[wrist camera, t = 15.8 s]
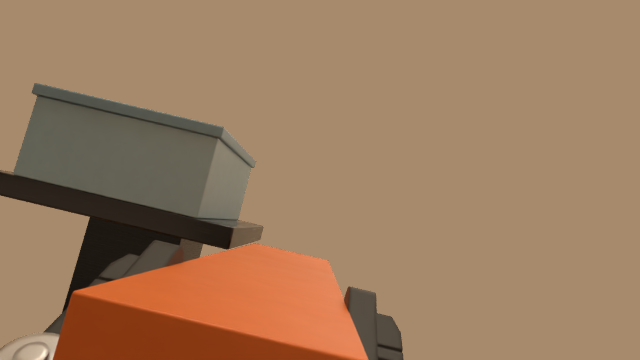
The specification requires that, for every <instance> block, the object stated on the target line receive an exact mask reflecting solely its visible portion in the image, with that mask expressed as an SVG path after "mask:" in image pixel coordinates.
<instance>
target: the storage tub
mask: <svg viewBox="0 0 640 360" xmlns="http://www.w3.org/2000/svg"><path fill="white" fill-rule="evenodd" d="M32 93H33V94H35V95H37V99H36V102H35V105H34V109H33V112H32V115H31V118H30V121H29V125H28V128H27V131H26V134H25V137H24V140H23V144H22V147H21V150H20V153H19V156H18V160H17V163H16V166H15V169H14V172H13V174H14V175H16V176H21V177H25V178H29V179H33V180H37V181H42V182H46V183H50V184H54V185H59V186H63V187H67V188H71V189H75V190H80V191H84V192H88V193H92V194H96V195H101V196H105V197H109V198H113V199H117V200H122V201H126V202H130V203H134V204H139V205H143V206H147V207H151V208H155V209H160V210H164V211H168V212H172V213H176V214H181V215H185V216H189V217H193V218H203V219H224V220H238V218H239V214H240V210H241V206H242V202H243V198H244V194H245V190H246V187H247V183H248V179H249V175H250V171H251V168H254V167H255V163H256V161H255V160H254V159H253V158H252V157H251V156H250V155H249V154H248V153H247V152H246V150H245V149H244V148H243V147H242V146H241V145H240V144H239V143H238V142H237V141H236V140H235V139H234V138H233V137H232V136H231V134H230V133H229V132H228V131H227V130H226V129H225V128H224V127H221V126H217V125H213V124H208V123H204V122H200V121H196V120H191V119H187V118H183V117H179V116H174V115H170V114H166V113H162V112H157V111H153V110H149V109H145V108H140V107H136V106H132V105H128V104H123V103H119V102H114V101H110V100H106V99H102V98H97V97H94V96H89V95H85V94H80V93H77V92H72V91H68V90H64V89H59V88H55V87H51V86H47V85H42V84H38V83H35V84H34V87H33V90H32Z"/></svg>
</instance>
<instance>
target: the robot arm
mask: <svg viewBox="0 0 640 360" xmlns="http://www.w3.org/2000/svg"><path fill="white" fill-rule="evenodd" d="M183 259H184V248H183V246H179V245H175V244H171V243H167V242H163V241H158V240H154V241H153V242H152V243H151V244H150V245H149V246H148V247H147V248H146V249H145V251H144V252H143V253H142V254H141V255H140V256H137V255H133V254H128V255H126V256H124V257H122V258H120V259H118V260H116V261H114V262H112V263H110V264H109V265H108V267H107V268H106V269H105V270H104V271H103V272H102V273H101V274H100V275H99V276H98V278H97V279H95V280H94V281H93V282H92V283H91V284H90V285H89V286H88V287H91V286H95V285H99V284H102V283H106V282H110V281H114V280H117V279H121V278H125V277H129V276H133V275H136V274H140V273H144V272H148V271H152V270H155V269H159V268H163V267H167V266H171V265H175V264H178V263H182V262H183ZM344 302H345V305H346V307H347V310H348V312H349V313H350V315H351V318H352V320H353V323H354V325H355V328H356V330H357V333H358V335H359V337H360V340H361V342H362V345H363V347H364V350H365V352H366V355H367V357H368V359H369V360H403V353H402V341H401V333H400V331H399V329H398V327H397V325H396V324H395V322H394V320H393V318H392V317H390V316H386V315H382V314H378V313H377V310H376V293H374V292H370V291H366V290H362V289H358V288H353V287H348V289H347V292H346V295H345V298H344ZM66 312H67V309H66V310H65V311H64V312H63V313H62V314H61V315H60V316H59V317H58V318H57V319H56V320H55V321H54V322H53V323H52V324H51V325H50V326H49V327H48V328H47V329H46V330H45V331H44V332H43V333H34V334H30V335H26V336H23V337H20V338H17V339H15V340H13V341H11V342H9V343H8V344H6V345H4V346H3V347H2V348H1V349H0V360H53V356H54V353H55V349H56V346H57V342H58V339H59V336H60V332H61V329H62V325H63V322H64V319H65V315H66Z"/></svg>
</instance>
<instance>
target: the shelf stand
mask: <svg viewBox="0 0 640 360" xmlns="http://www.w3.org/2000/svg"><path fill="white" fill-rule="evenodd" d="M0 195H1V196H5V197H9V198H13V199H17V200H22V201H26V202H30V203H34V204H39V205H43V206H47V207H51V208H55V209H60V210H64V211H68V212H72V213H76V214H80V215H85V216H89V217H90V219H89V222H88V226H87V229H86V233H85V236H84V240H83V243H82V246H81V250H80V253H79V257H78V260H77V264H76V267H75V270H74V274H73V278H72V281H71V284H70V288H69V291H68V294H67V298H66V302H65V305H64V308H63V312H64V311H65V310H66V309H67V308H68V305H69V302H70V298H71V295H72V293H73V292H74V291H76V290H80V289H83V288H87V287H88V286H89V285H90V284H91V283H92V282H93V281H94V280H95V279H97V278H98V276H99V275H100V274H101V273H102V272H103V271H104V270H105V269H106V268H107V267H108V265H109V264H110V263H112V262H114V261H116V260H118V259H120V258H122V257H124V256H126V255H128V254H133V255H137V256H140V255H141V254H142V253H143V252H144V251H145V249H146V248H147V247H148V246H149V245H150V244H151V243H152V242H153V241H154V240H158V241H163V242H167V243H171V244H175V245H179V246H183V248H184V259H183V262H186V261H189V260H193V259H197V258H199V257H200V253H201V249H202V246H203V244H207V245H211V246H215V247H219V248H223V249H231V248H234V247H237V246H241V245H244V244H248V243H251V242H254V241H258V240H260V238H261V234H262V231H263V226H261V225H257V224H253V223H249V222H245V221H240V220H224V219H203V218H193V217H189V216H185V215H181V214H176V213H172V212H168V211H164V210H160V209H155V208H151V207H147V206H143V205H139V204H134V203H130V202H126V201H122V200H117V199H113V198H109V197H105V196H101V195H96V194H92V193H88V192H84V191H80V190H75V189H71V188H67V187H63V186H59V185H54V184H50V183H46V182H42V181H37V180H33V179H29V178H25V177H21V176H16V175H14V174H13V172H8V171H2V170H0ZM63 312H62V313H63Z"/></svg>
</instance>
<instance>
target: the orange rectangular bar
mask: <svg viewBox="0 0 640 360" xmlns="http://www.w3.org/2000/svg"><path fill="white" fill-rule="evenodd" d="M53 360H369V359H368V357H367V355H366V352H365V350H364V347H363V345H362V342H361V340H360V337H359V335H358V333H357V330H356V328H355V325H354V323H353V320H352V318H351V315H350V313H349V312H348V310H347V307H346V305H345V302H344V298H343V296H342V293H341V291H340V289H339V286H338V284H337V281H336V279H335V276H334V274H333V272H332V269H331V267H330V264H329V262H328V260H323V259H319V258H315V257H311V256H306V255H302V254H298V253H294V252H289V251H286V250H281V249H277V248H273V247H268V246H265V245H260V244H256V243H254V244H250V245H246V246H242V247H239V248H235V249H231V250H227V251H224V252H220V253H216V254H213V255H208V256H205V257H201V258H197V259H193V260H189V261H186V262H182V263H178V264H175V265H171V266H167V267H163V268H159V269H155V270H152V271H148V272H144V273H140V274H136V275H133V276H129V277H125V278H121V279H117V280H114V281H110V282H106V283H102V284H99V285H95V286H91V287H87V288H83V289H80V290H76V291H74V292H73V293H72V295H71V298H70V302H69V305H68V308H67V312H66V315H65V319H64V322H63V325H62V329H61V332H60V336H59V339H58V342H57V346H56V349H55V353H54V356H53Z"/></svg>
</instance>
